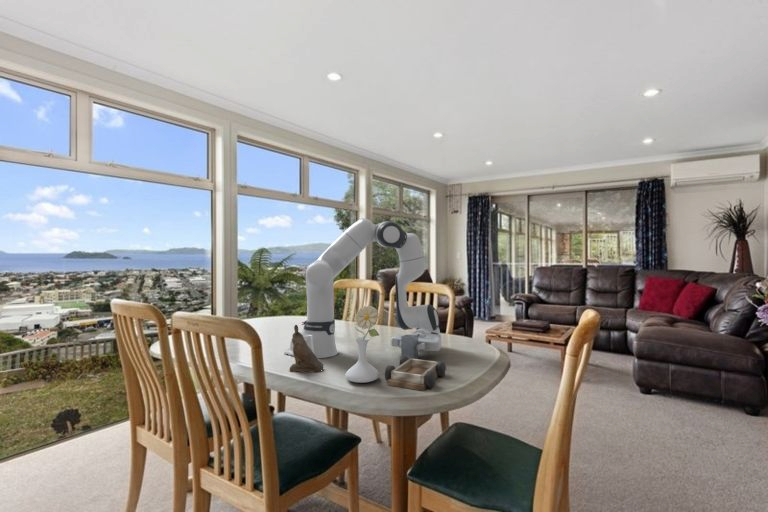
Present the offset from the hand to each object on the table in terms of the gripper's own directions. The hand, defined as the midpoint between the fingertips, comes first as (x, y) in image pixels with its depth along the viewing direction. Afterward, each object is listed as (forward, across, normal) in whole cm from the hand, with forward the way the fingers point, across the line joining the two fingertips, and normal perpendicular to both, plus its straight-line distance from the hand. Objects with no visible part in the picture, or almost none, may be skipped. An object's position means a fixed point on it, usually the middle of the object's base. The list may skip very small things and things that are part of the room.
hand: (408, 347), depth 144 cm
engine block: (-1, 0, +6) cm, 6 cm away
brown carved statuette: (+24, -30, +6) cm, 39 cm away
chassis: (+16, +9, +6) cm, 19 cm away
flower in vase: (+26, -6, +6) cm, 27 cm away
